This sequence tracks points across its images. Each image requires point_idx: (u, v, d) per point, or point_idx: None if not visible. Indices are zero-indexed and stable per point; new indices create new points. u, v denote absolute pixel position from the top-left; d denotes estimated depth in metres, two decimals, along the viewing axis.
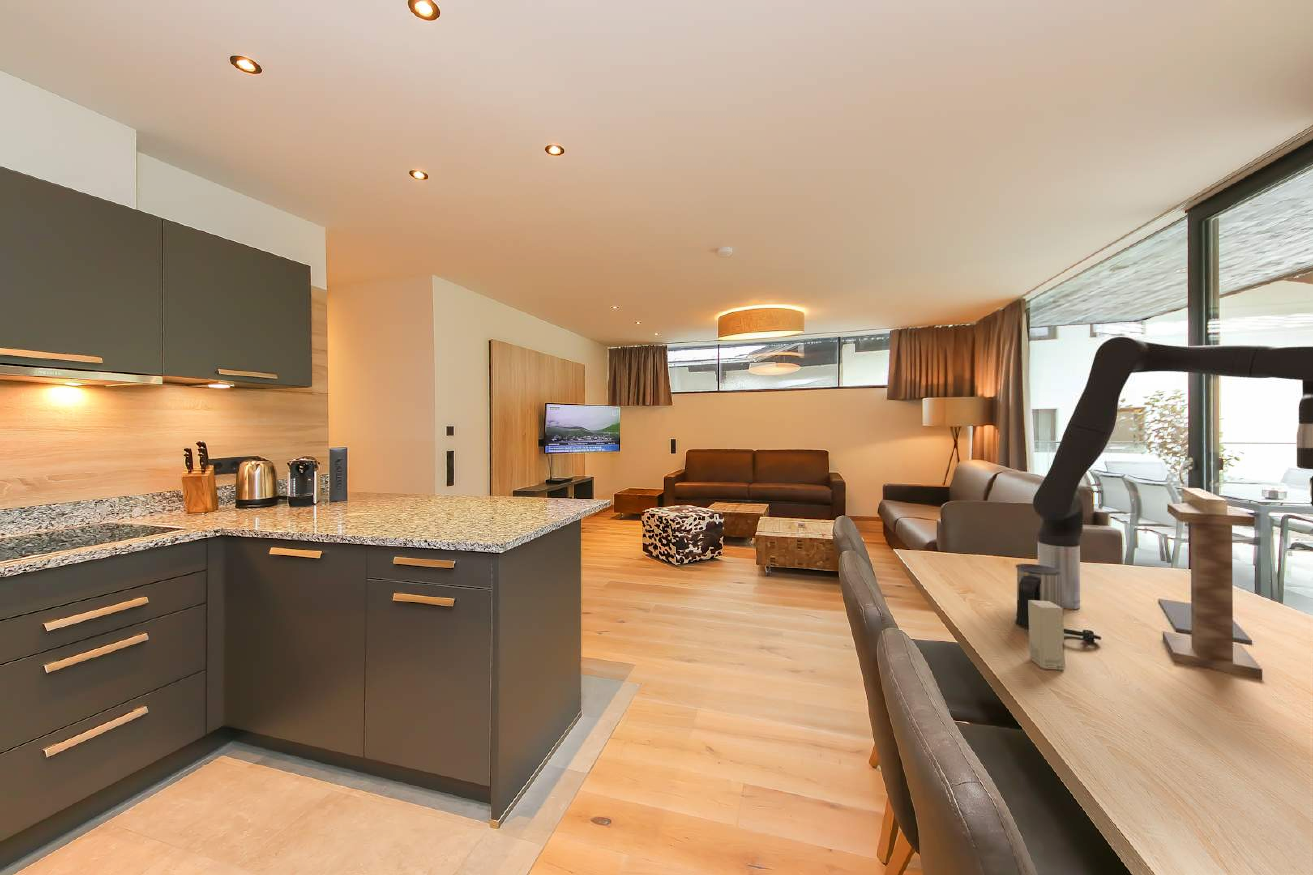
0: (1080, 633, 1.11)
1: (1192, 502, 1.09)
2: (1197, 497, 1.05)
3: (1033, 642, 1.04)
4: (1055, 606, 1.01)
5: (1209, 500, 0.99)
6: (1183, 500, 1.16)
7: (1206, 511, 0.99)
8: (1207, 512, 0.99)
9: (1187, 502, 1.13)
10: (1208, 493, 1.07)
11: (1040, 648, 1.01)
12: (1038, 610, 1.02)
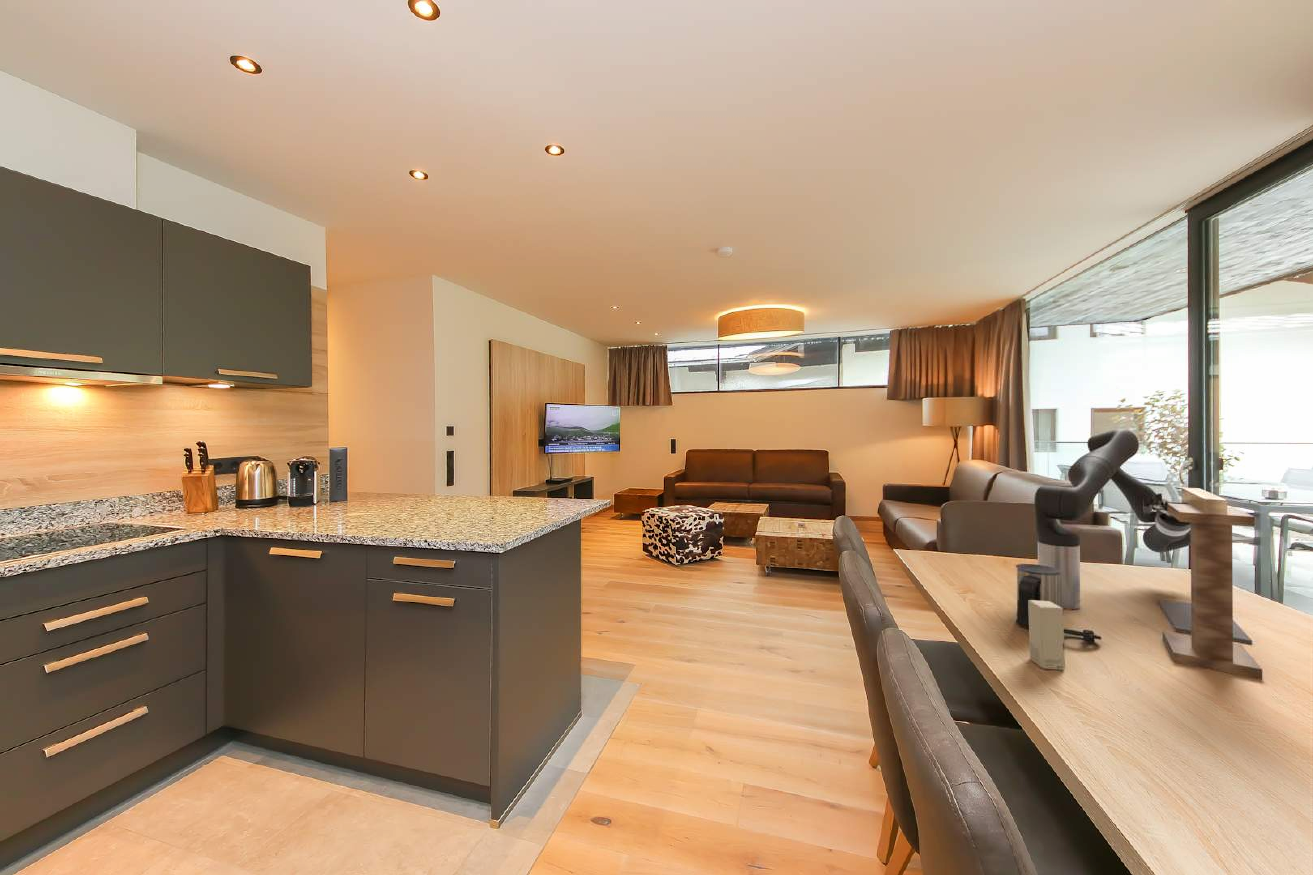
0: (1080, 633, 1.11)
1: (1192, 502, 1.09)
2: (1197, 497, 1.05)
3: (1033, 642, 1.04)
4: (1055, 606, 1.01)
5: (1209, 500, 0.99)
6: (1183, 500, 1.16)
7: (1206, 511, 0.99)
8: (1207, 512, 0.99)
9: (1187, 502, 1.13)
10: (1208, 493, 1.07)
11: (1040, 648, 1.01)
12: (1038, 610, 1.02)
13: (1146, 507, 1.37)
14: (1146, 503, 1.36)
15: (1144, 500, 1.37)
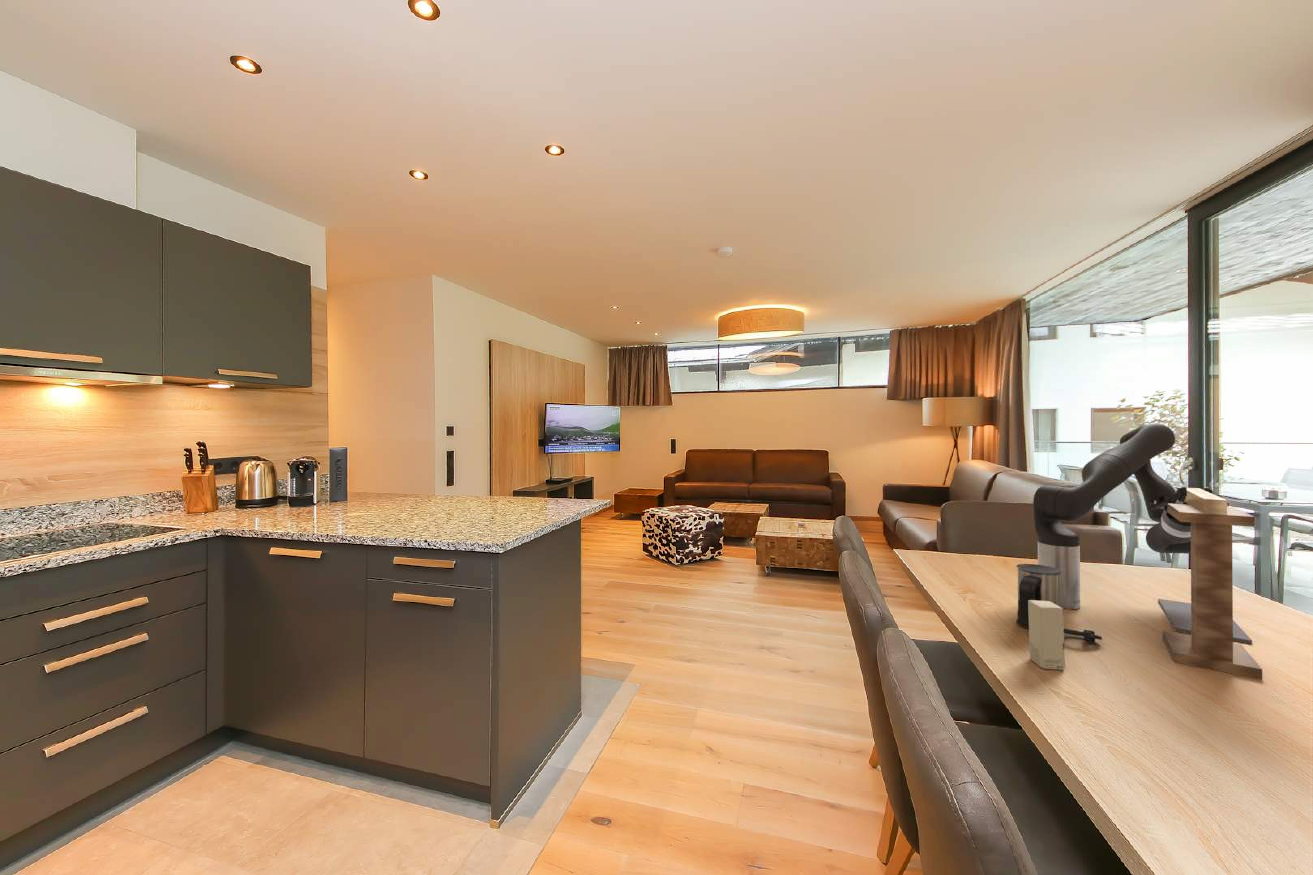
0: (1081, 633, 1.11)
1: (1192, 502, 1.09)
2: (1197, 497, 1.05)
3: (1033, 642, 1.04)
4: (1055, 606, 1.01)
5: (1209, 500, 0.99)
6: None
7: (1206, 511, 0.99)
8: (1207, 512, 0.99)
9: (1187, 502, 1.13)
10: (1208, 493, 1.07)
11: (1040, 648, 1.01)
12: (1038, 610, 1.02)
13: (1166, 503, 1.18)
14: (1168, 498, 1.18)
15: (1166, 495, 1.18)
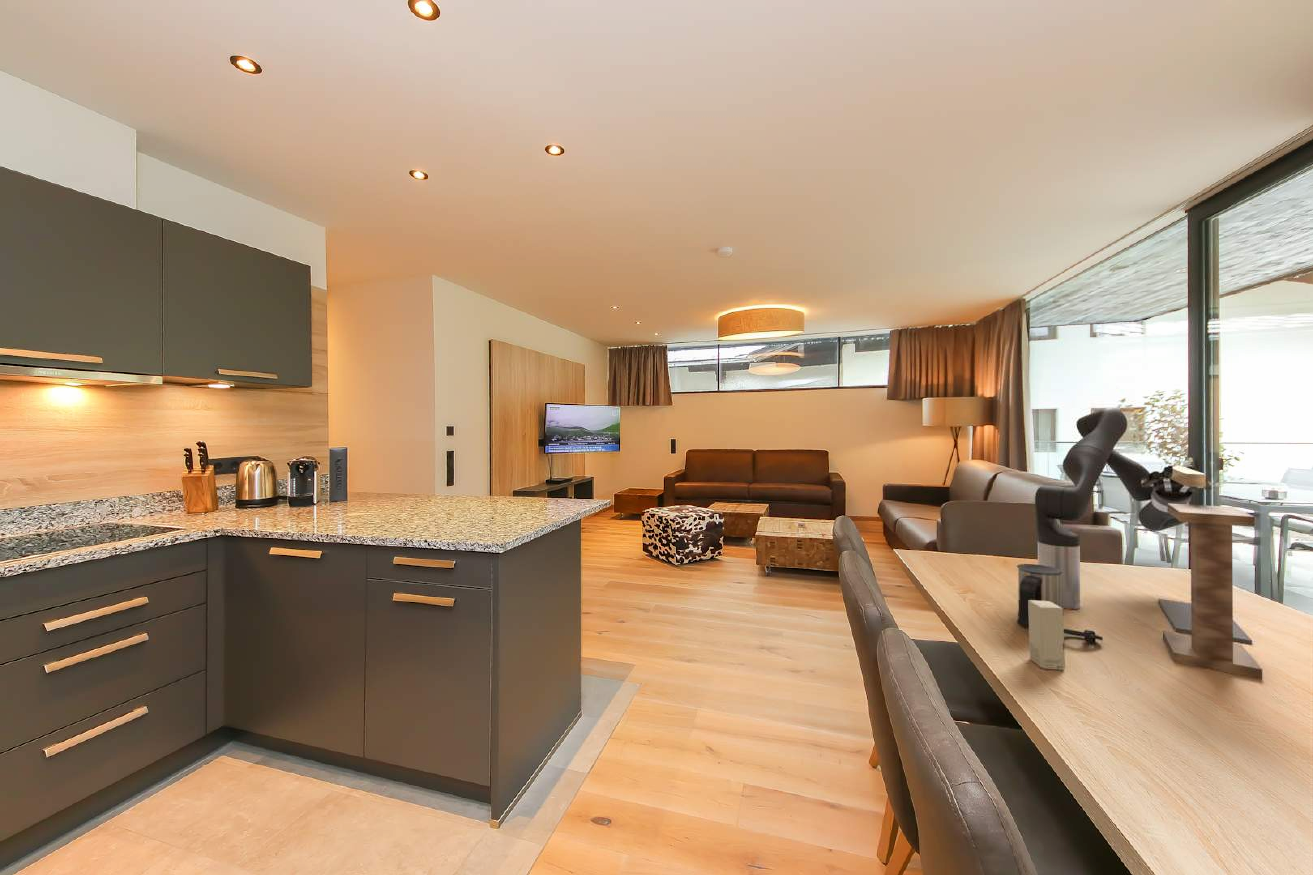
0: (1081, 633, 1.11)
1: (1176, 478, 1.22)
2: (1180, 473, 1.18)
3: (1033, 642, 1.04)
4: (1055, 606, 1.01)
5: (1190, 475, 1.13)
6: None
7: (1187, 484, 1.13)
8: (1188, 485, 1.13)
9: (1173, 479, 1.26)
10: (1191, 470, 1.21)
11: (1040, 648, 1.01)
12: (1038, 610, 1.02)
13: (1154, 481, 1.32)
14: (1156, 476, 1.31)
15: (1155, 473, 1.32)
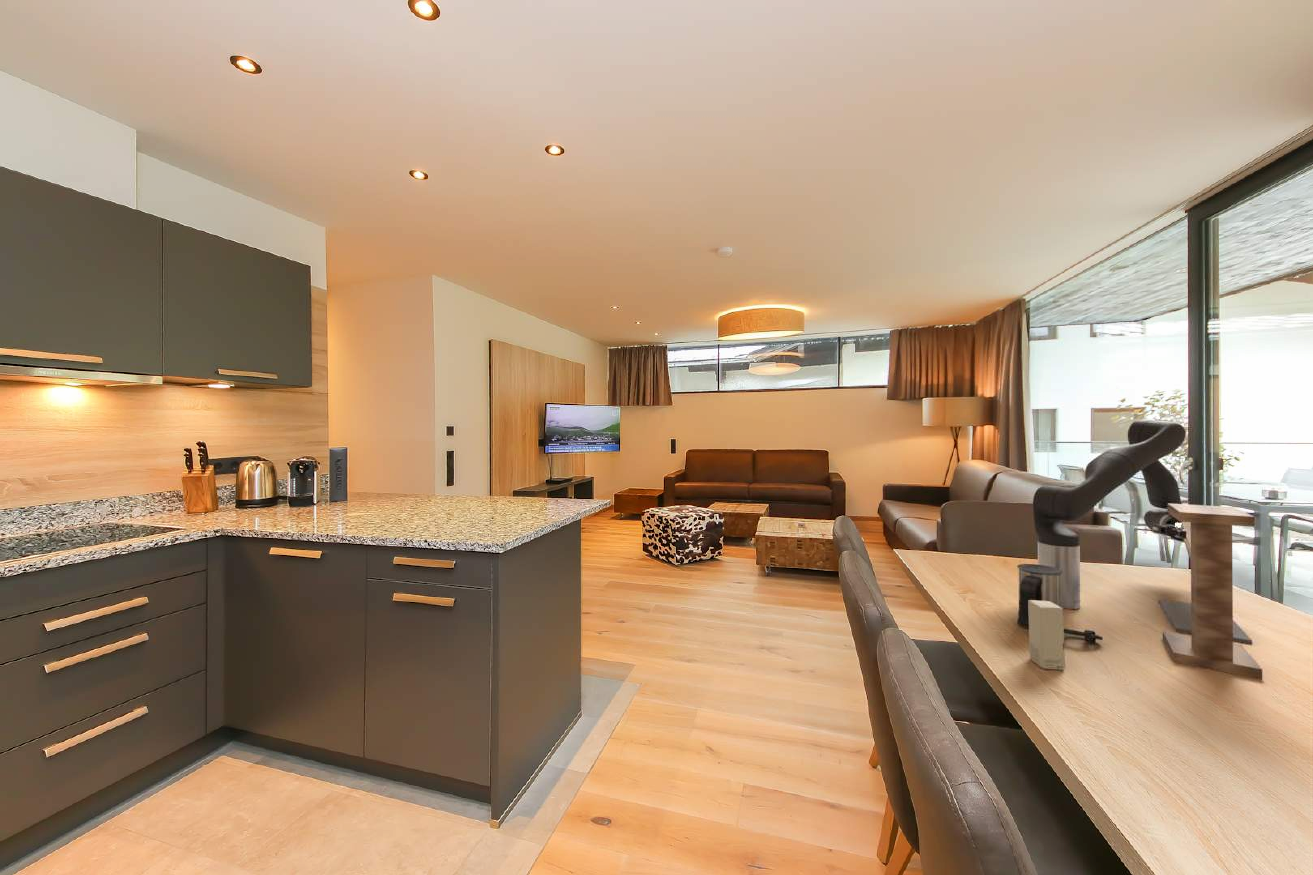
0: (1081, 633, 1.11)
1: (1190, 556, 1.26)
2: None
3: (1033, 642, 1.04)
4: (1055, 606, 1.01)
5: None
6: None
7: None
8: None
9: None
10: None
11: (1040, 648, 1.01)
12: (1038, 610, 1.02)
13: None
14: (1169, 532, 1.35)
15: (1167, 529, 1.35)
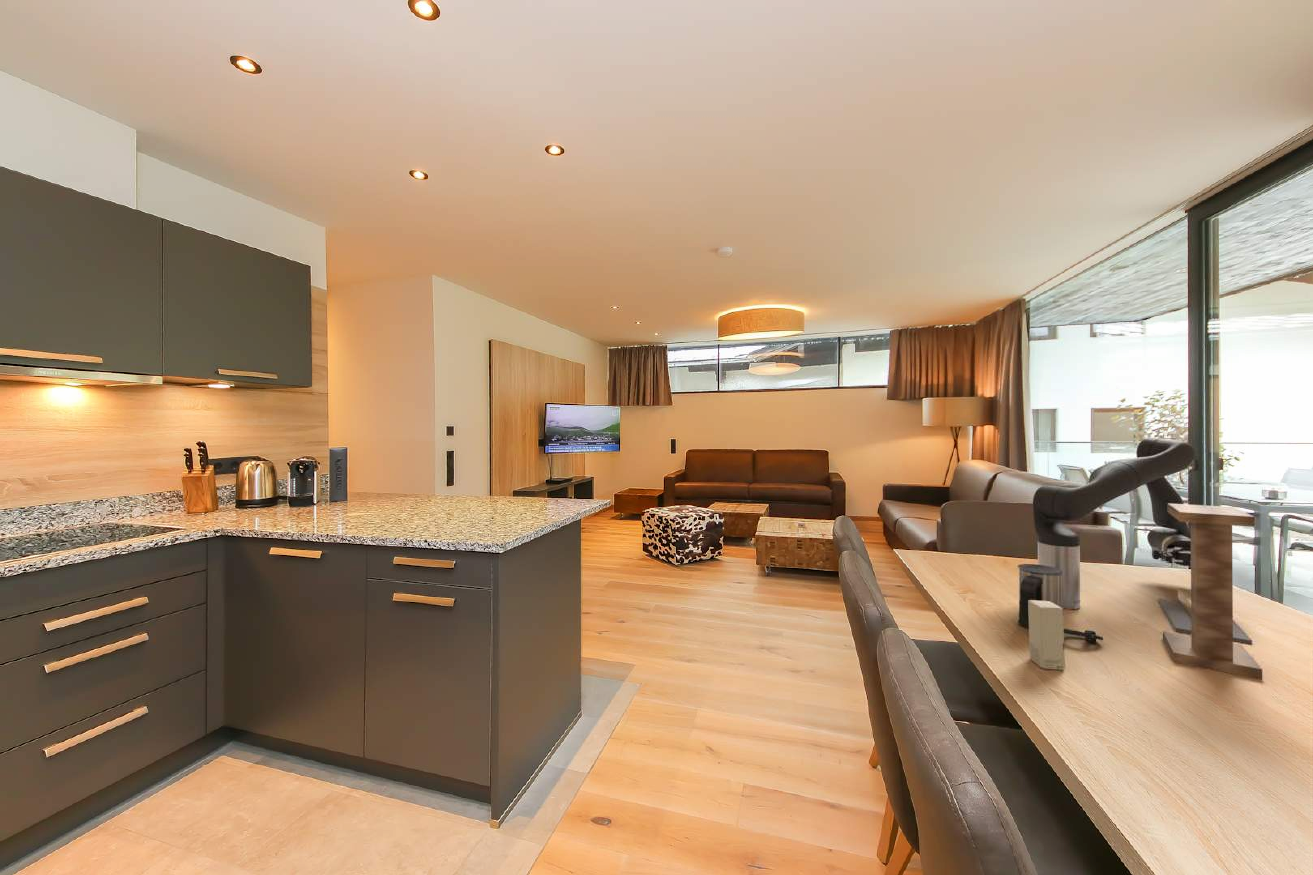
0: (1082, 633, 1.11)
1: (1187, 607, 1.29)
2: None
3: (1033, 642, 1.04)
4: (1055, 606, 1.01)
5: None
6: None
7: None
8: None
9: (1183, 604, 1.33)
10: None
11: (1040, 648, 1.01)
12: (1038, 610, 1.02)
13: None
14: (1156, 556, 1.38)
15: (1154, 552, 1.38)
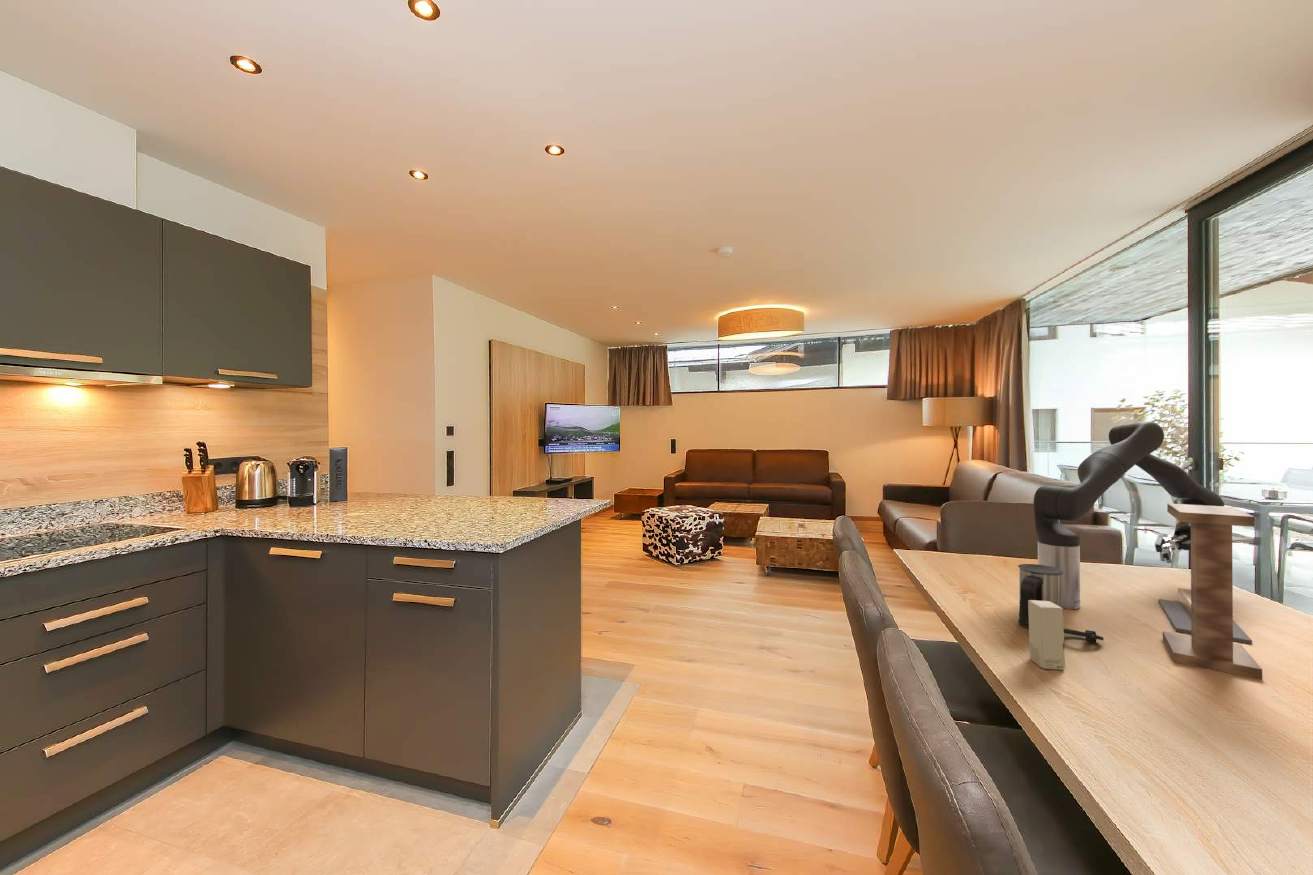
0: (1082, 633, 1.11)
1: (1187, 607, 1.29)
2: None
3: (1033, 642, 1.04)
4: (1055, 606, 1.01)
5: None
6: None
7: None
8: None
9: (1183, 604, 1.33)
10: None
11: (1040, 648, 1.01)
12: (1038, 610, 1.02)
13: None
14: (1158, 549, 1.43)
15: (1155, 546, 1.44)
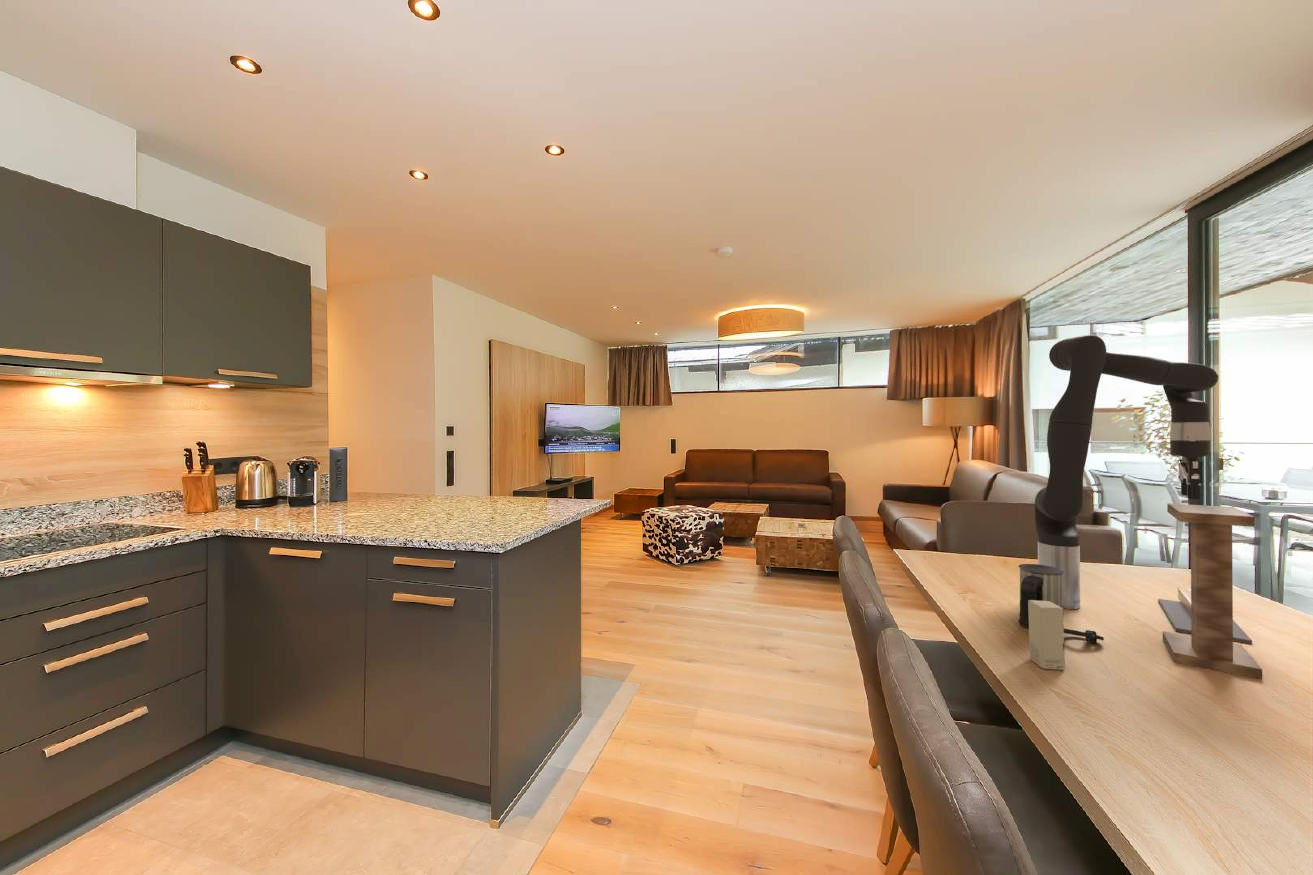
0: (1082, 633, 1.11)
1: (1187, 607, 1.29)
2: None
3: (1033, 642, 1.04)
4: (1055, 606, 1.01)
5: None
6: None
7: None
8: None
9: (1183, 604, 1.33)
10: None
11: (1040, 648, 1.01)
12: (1038, 610, 1.02)
13: None
14: None
15: None
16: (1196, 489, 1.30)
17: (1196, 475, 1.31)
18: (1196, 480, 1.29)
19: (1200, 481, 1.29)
